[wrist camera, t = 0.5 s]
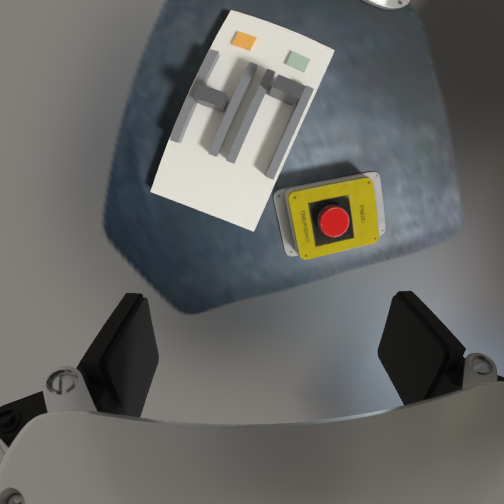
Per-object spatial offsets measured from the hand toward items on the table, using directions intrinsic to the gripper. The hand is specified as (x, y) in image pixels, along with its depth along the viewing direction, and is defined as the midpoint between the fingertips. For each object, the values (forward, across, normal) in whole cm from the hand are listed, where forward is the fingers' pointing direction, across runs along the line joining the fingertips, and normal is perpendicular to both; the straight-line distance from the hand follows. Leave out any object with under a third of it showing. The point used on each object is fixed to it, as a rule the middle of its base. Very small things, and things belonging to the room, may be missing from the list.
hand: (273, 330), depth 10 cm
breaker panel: (+28, +2, -11) cm, 30 cm away
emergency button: (+28, -11, +2) cm, 31 cm away
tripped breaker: (+26, +5, -12) cm, 29 cm away
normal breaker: (+26, -3, -13) cm, 29 cm away
